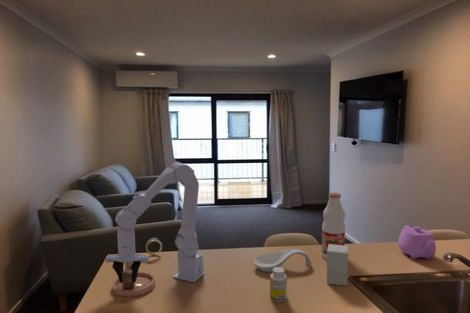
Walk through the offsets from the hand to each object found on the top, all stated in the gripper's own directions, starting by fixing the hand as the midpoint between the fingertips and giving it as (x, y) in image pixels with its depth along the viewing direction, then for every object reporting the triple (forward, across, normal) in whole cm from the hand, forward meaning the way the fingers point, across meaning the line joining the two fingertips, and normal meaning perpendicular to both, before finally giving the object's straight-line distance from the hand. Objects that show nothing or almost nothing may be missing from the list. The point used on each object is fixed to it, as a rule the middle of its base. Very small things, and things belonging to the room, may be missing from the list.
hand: (128, 281), depth 121 cm
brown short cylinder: (+2, 0, 0) cm, 2 cm away
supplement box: (+3, -76, -8) cm, 76 cm away
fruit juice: (+3, -80, -29) cm, 85 cm away
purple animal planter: (+3, -117, -31) cm, 121 cm away
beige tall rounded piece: (+3, +4, -15) cm, 16 cm away
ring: (+3, -1, -30) cm, 30 cm away
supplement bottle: (+3, -53, +5) cm, 53 cm away
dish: (+3, -1, -3) cm, 4 cm away
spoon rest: (+4, -57, -19) cm, 60 cm away
